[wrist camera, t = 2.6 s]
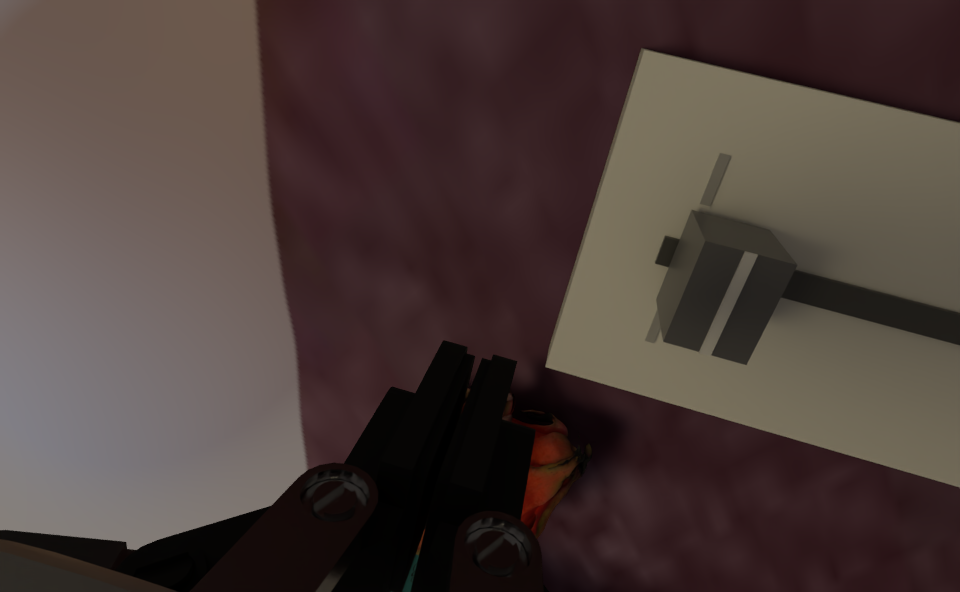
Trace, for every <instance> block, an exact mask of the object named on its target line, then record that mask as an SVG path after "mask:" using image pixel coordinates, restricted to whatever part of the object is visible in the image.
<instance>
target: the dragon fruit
mask: <svg viewBox="0 0 960 592" xmlns="http://www.w3.org/2000/svg"><path fill="white" fill-rule="evenodd" d="M469 392H470V389H469V388H467V392H466V396H465V401H464V402H466V400H467V397H468V394H469ZM464 405H465V404H464ZM464 405H463V408H464ZM514 407H515V396H514V394H512V393H511V390H509V394H508V398H507V402H506V405H505V409H504V413H503V417H502V419H503V420H506V421H510V422H513V423H516V424H520V425H523V426H526V427H530V428H533V429H536V433H535V439H534V445H533V451H532V457H531V463H530V469H529V474H528V480H527V486H526V492H525V498H524V504H523V509H522V515H521V521H522V522H523V523H524V524H525V525H526V526H527V527H528V528H529V529H530V530H531V531H532V532H533V533H534V535H535V537H536V539H538V537H539V536H540V535H541V533H542V532H543V530H544V528H545V526H546V523H547V521H548V519H549V517H550V515H551V513H552V511H553V510H554V508H555V507H556V505H557V504H559V502H560V501H561V499H562V498H563V497H564V496H565V495H566V494H567V492H568V491H569V488H570V487H571V485H572V483H573V482H575V481H576V480H577V479H579V478H580V477H581V476H582V474H583V473H584V471H585V469H586V466H587V463H588V462H589V460H590V459H591V457H592V449H591V446H590V444H588V445H586V447H585V452H584V454H582V452H581V449H580V446H579V445H578V448H577V449H576V447H575V446H573V445H572V444H571V443H570V442H569V440H568V439H567V437H568V431H567V427H566V426H565V425H564V424H565V423H564V424H563V423H562V422H561V421H560V420H558V418H556V417H555V416H554V415H553V414H552V413H546V414H545V413H544V412H541V411H535V410H533V409H532V410H525V411H520V412H522V413H527V414H528V413H532V414H534V415H532V416H527V417H528V418H529V419H533V420H537V421H542V422H551V423H553V424H551V425H545V426H541V425H534V424H528V423H524V422H521V421H519V420H517V419H514V418H512V416H513V415H511V414H512V412H513V410H514ZM462 410H463V409H462ZM578 433H579V432H578ZM579 438H580V437H579V436H578V439H579ZM424 531H425V530H424ZM423 536H424V532H423V535H422V538H421V541H420V544H419V546H418V549H417V552H416V554H417V555H419V553H420V549H421V544H422V540H423Z"/></svg>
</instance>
